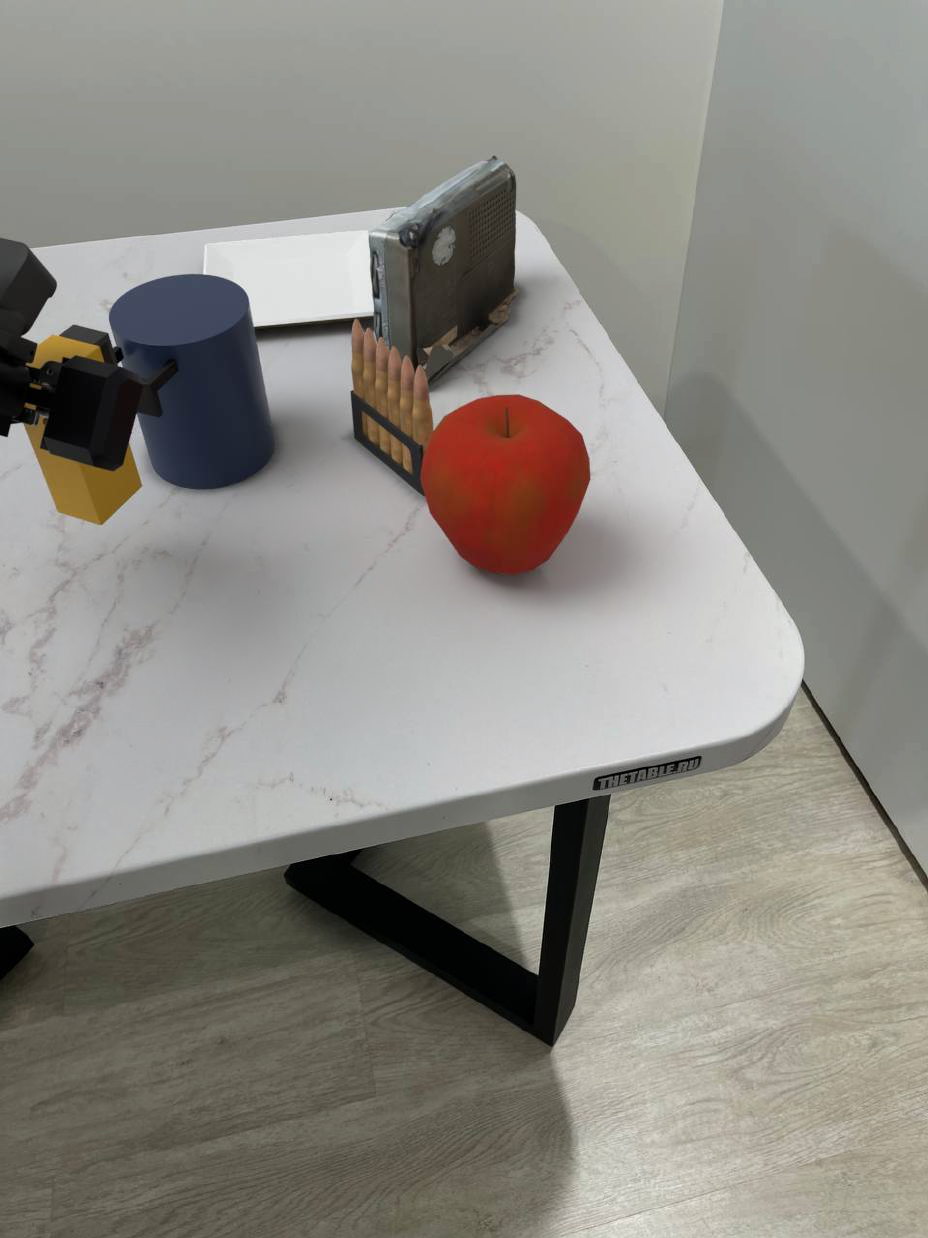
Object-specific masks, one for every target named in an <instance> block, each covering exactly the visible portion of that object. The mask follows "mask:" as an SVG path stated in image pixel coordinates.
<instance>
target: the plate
mask: <svg viewBox="0 0 928 1238" xmlns="http://www.w3.org/2000/svg"><path fill="white" fill-rule="evenodd" d="M371 231H372V230H368V229H362V230H361V229H360V230H349V231H335V232H325V233H314V234H313V233H311V234H302V235H301V234H299V235H290V236H289V235H288V236H278V237H265V238H255V239H241V240H229V241H220V242H218V241H217V242H208V243H206V244H204V247H203V269H202V270H203V271H202V272H203V273H202V274H205V275H213V276H218V277H222V278H225V279H228V280H230V281H232V282H235V283H236V284H238V285H239V286H241V287H242V288H243V289H244V290H245V292H246V293H247V295H248V298H249V303H250V308H251V314H252V319H253V325H254V330H261V329H271V328H280V327H293V326H303V325H313V324H324V323H336V322H344V321H345V322H346V321H347V322H348V321H354V320H355V319H358V320H368V319H374V304H373V297H372V282H371V273H370V260H371V259H370V248H369V234H370V232H371Z"/></svg>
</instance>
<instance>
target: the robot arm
mask: <svg viewBox="0 0 928 1238" xmlns="http://www.w3.org/2000/svg"><path fill="white" fill-rule="evenodd" d="M57 288H58V282H57V279H56V278H55V277H54V276H53V274H52V273H50V271H49V270H48V269H47V267H45V265H44V264H43V263H42V261H41V260H40V259H39V258H38V257H37V256H36V254H34V252H33V250H32V249H31V248H30V247H29V246H28V245H27V244H26V243H24V242H21V241H17V240H12V239H8V238H4V237H0V436H1V437H4V438H8V437H9V434H10V430H11V426H12V425H17V424H23V423H24V424H27V425H31V426H36V425H37V424H38V422H39V418H40V415H41V416H43V417H46V418H44V419H43V425H45V429H44V433H43V437H42V440H41V444H40V449H43V450H47V451H49V452H50V454H52V455H56V456H59V457H63V458H66V459H69V460H73V461H76V462H80V463H83V464H86V465H90V466H93V467H97V468H101V469H105V470H109V471H113V472H114V471H115V470H117V469H118V468H120V467H121V466H123V464H124V460H125V456H126V452H127V448H128V445H129V444H130V441H131V437H132V433H133V429H134V425H135V423H136V422H135V421H136V417H137V410H138V406H139V402H140V399H141V395H142V391H143V387H144V384H143V382H142V380H141V378H140V376H139V374H137V373H135V372H132V371H130V370H127V369H125V368H123V366H119V365H118V366H116V365H112V364H108V363H105V362H101V361H97V360H93V359H89V358H85V357H81V356H77V355H75V356H73V357H72V358H71V359H70V358H66V357H63V358H62V362H61V363H59V362H56V361H47V362H46V363H44V364H43V366H42V367H41V368H35V367H31V366H27V365H26V363H33V361H34V357H35V353H36V349H37V346H38V345H39V343H38V342H35V341H33V340H31V339H28V338H25V337H23V336H25V335H27V333H29V332H30V330H31V329H32V328H33V326H34V325H35V322H36V321H37V319H38V317H39V315H40V314H41V312H42V311H43V308H44V307H45V305H46V303H47V301H48V300H49V299H51V298H53V297H54V294H55V293H56V291H57ZM43 382H44V383H47V384H49V385H46V384H43ZM30 383H32V384H34V385H38V386H41V389H36V388H33V387H30ZM25 403H27V404H31V405H34V406H36V409H35V410H34V409H30V408H27V407H24V406H25ZM24 424H23V425H24Z"/></svg>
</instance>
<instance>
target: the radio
mask: <svg viewBox="0 0 928 1238" xmlns="http://www.w3.org/2000/svg"><path fill="white" fill-rule="evenodd" d="M516 208H517V179H516V174H515V172H514V170H513V169H512V168H511V167H510V166H509V165H508V164H507V163H506V162H504V161H503V160H500V159H499V158H498V157H497V156H496V155H493V156H491V157H490V158H488V159H485V160H480V161H478V162H476V163H474V164H473V165H472V166H470V167H467V168H465V169H463V170H461V171H460V172H459V173H457V174H455V175H454V176H452V177H451V178H450V179H448V180H446V181H445V182H442V183H441V184H440V185H438V186H437V187H435V188H433V189H432V190H431V191H429V192H428V193H425V194H423V195H422V196H421V198H420V199H419V200H417V201H416V202H413V203H412V204H409V205H408V206H406V207H404V208H401V209H398V210H397V211H396V212H394V213H392V214H391V215H390V216H389V217H388V218H387V219H386V220H385V221H384V222H382V224H380V225H378V226H376V227H374V228H373V229H371V230H370V231H371V232H370V234H369V248H370V259H371V260H370V273H371V282H372V297H373V304H374V318H373V330H374V337H375V341H376V344H377V343H378V340H379V338H380V337H383V339H384V340H385V343H386V345H387V348H388V351H389V355H390V351H391V348H392V347H393V346H395V347H396V349H397V350H398V353H399V355H400V359H401V363H403V360H404V357H405V356H406V355H408V356H409V358H410V360H411V362H412V365H413V368H414V373H416V370H417V367H418V366H419V365H421V366H422V367H423V369H424V371H425V374H426V377H427V382H428V386H430V384H432V383H433V382H434V381H436V380H437V379H438V378H439V377H440V376H442V375H443V374H444V373H445V372H446V371H447V370H449V369H450V368H451V367H452V366H453V365H454V364H456V363H457V362H458V361H460V360H461V359H462V358H463V357H464V356H466V355H467V354H468V353H470V351H471V350H472V349H474V348H475V347H476V346H477V345H479V344H480V343H481V342H482V341H483V340H485V339H486V338H487V337H489V335H490V334H492V333H493V332H495V330H497V329H498V328H499V327H500V326H502V325H503V324H504V323H505V322H507V320H509V318H510V317H509V315H510V314H511V312H510V311H509V304H510V302H511V301H512V300H513V299H514V298H515V297H517V296H518V295H519V290H518V289H517V288H516V287H515V278H516V243H517V226H516V225H517V211H516V210H517V209H516Z"/></svg>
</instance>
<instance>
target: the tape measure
mask: <svg viewBox="0 0 928 1238" xmlns="http://www.w3.org/2000/svg"><path fill="white" fill-rule="evenodd" d="M113 347H114V346H113V342H112V340H111V337H110V334H109V332H107V331H102V330H99V329H93V328H90V327H86V326H82V325H78V324H72V325H70V326H69V327H67V328H66V329H65V330H64V331H62V332H61V333H60V334H59V335H56V334H50V335H49V336H48V337H47V338H45V339H44V340H43V341H42V342H40V343H38V345H37V349H36V353H35V357H34V361H33V363H26V365H27V366H31V367H35V368H41V367H42V366H43V364H44V363H46V362H47V361H56V362H59V363H61V362H62V358H63V357H66V358H70V359H71V358H72V357H73V356H75V355H77V356H81V357H85V358H89V359H93V360H97V361H101V362H105V363H108V364H112V365H116V366H119V363H117V360H116V357H115V353H114V350H113ZM43 384H46V385H49V384H47V383H44V382H43ZM30 387H33V388H36V389H41V386H38V385H34V384H32V383H30ZM24 407H27V408H30V409H34V410H35V409H36V406H34V405H31V404H27V403H25V406H24ZM44 418H46V417H43V416H41V415H40V418H39V422H38V424H37V425H36V426H31V425H27V424H24V423H22V424H23V427H24V429H25V432H26V434H27V437H28V439H29V442H30V445H31V447H32V450H33V453H34V455H35V457H36V460H37V462H38V465H39V467H40V471H41V473H42V475H43V478H44V479H45V480H44V481H45V483H46V485H47V487H48V490H49V493H50V496H51V498H52V501H53V503H54V505H55V508H56V510H57V512H58V513H60V514H62V515H66V516H69V517H73V518H75V519H78V520H82V521H84V522H88V523H92V524H94V525H98V526H103V525H104V524H105V523H106V522H107V521H108V520H109V519H111V517H112V516H113V515H114V514H116V512H118V511H119V510H120V508H121V507H123V506H124V505H125V504H126V503H127V502H128V501H129V500H130V499H131V498H133V496H134V495H135V494H136V493H137V492H139V490H140V489H141V488H143V483H142V481H141V480H142V479H141V476H140V473H139V470H138V467H137V464H136V461H135V457H134V453H133V451H132V447H131V444H130V443H129V445H128V448H127V452H126V456H125V460H124V464H123V466H121V467H120V468H118V469H117V470H115V471H114V472H113V471H109V470H105V469H101V468H97V467H93V466H90V465H86V464H83V463H80V462H76V461H73V460H69V459H66V458H63V457H59V456H56V455H52V454H50V452H49V451H47V450H43V449H40V444H41V440H42V437H43V433H44V429H45V425H43V419H44Z"/></svg>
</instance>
